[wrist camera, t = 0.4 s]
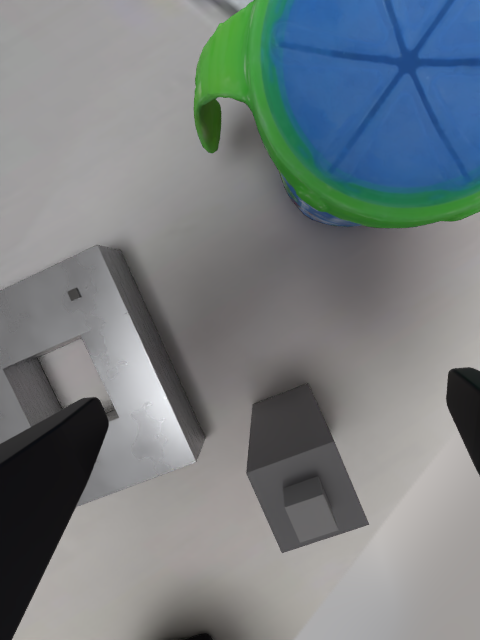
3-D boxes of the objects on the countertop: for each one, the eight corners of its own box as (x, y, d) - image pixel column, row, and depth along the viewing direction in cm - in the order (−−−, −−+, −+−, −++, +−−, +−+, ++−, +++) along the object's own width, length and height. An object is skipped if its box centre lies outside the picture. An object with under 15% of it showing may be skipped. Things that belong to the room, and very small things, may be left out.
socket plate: (205, 438, 22) (195, 462, 19) (57, 494, 24) (26, 526, 20) (120, 250, 21) (96, 244, 18) (-29, 320, 23) (-75, 325, 19)
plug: (330, 436, 22) (379, 547, 12) (275, 456, 22) (283, 577, 13) (307, 383, 21) (340, 456, 12) (252, 404, 22) (244, 490, 13)
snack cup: (201, 228, 21) (143, 174, 11) (233, 53, 19) (201, -198, 9) (445, 276, 20) (631, 267, 10) (494, 97, 19) (766, -123, 9)
